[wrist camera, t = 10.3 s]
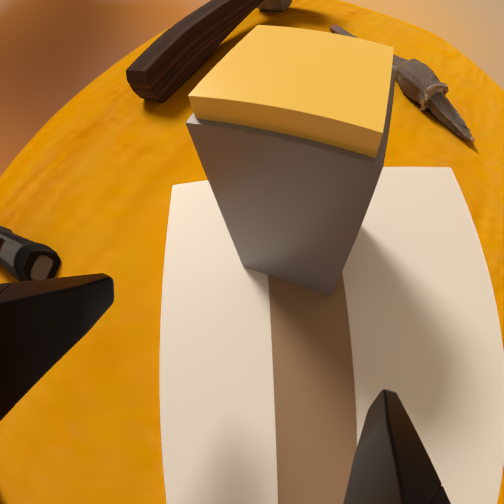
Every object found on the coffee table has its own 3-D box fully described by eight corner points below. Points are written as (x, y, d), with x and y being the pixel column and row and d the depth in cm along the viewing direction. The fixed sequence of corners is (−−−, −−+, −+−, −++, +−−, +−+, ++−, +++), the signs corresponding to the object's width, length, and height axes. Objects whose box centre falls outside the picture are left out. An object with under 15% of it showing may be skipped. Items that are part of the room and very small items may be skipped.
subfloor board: (483, 531, 7) (489, 534, 6) (183, 576, 9) (179, 582, 8) (447, 174, 18) (451, 167, 18) (176, 191, 20) (172, 184, 19)
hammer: (181, 130, 28) (296, 3, 34) (132, 48, 18) (287, -55, 23) (149, 122, 30) (269, 1, 35) (99, 51, 19) (256, -54, 25)
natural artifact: (454, 158, 21) (452, 137, 17) (331, 34, 29) (315, 14, 26) (483, 137, 19) (484, 114, 16) (352, 19, 27) (338, -2, 24)
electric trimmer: (-6, 220, 24) (-24, 206, 21) (66, 256, 20) (40, 238, 17) (-20, 250, 22) (-39, 237, 19) (46, 300, 18) (18, 287, 16)
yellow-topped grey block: (330, 296, 15) (391, 142, 5) (242, 266, 16) (176, 99, 6) (354, 217, 17) (399, 46, 7) (275, 193, 18) (254, 22, 8)
